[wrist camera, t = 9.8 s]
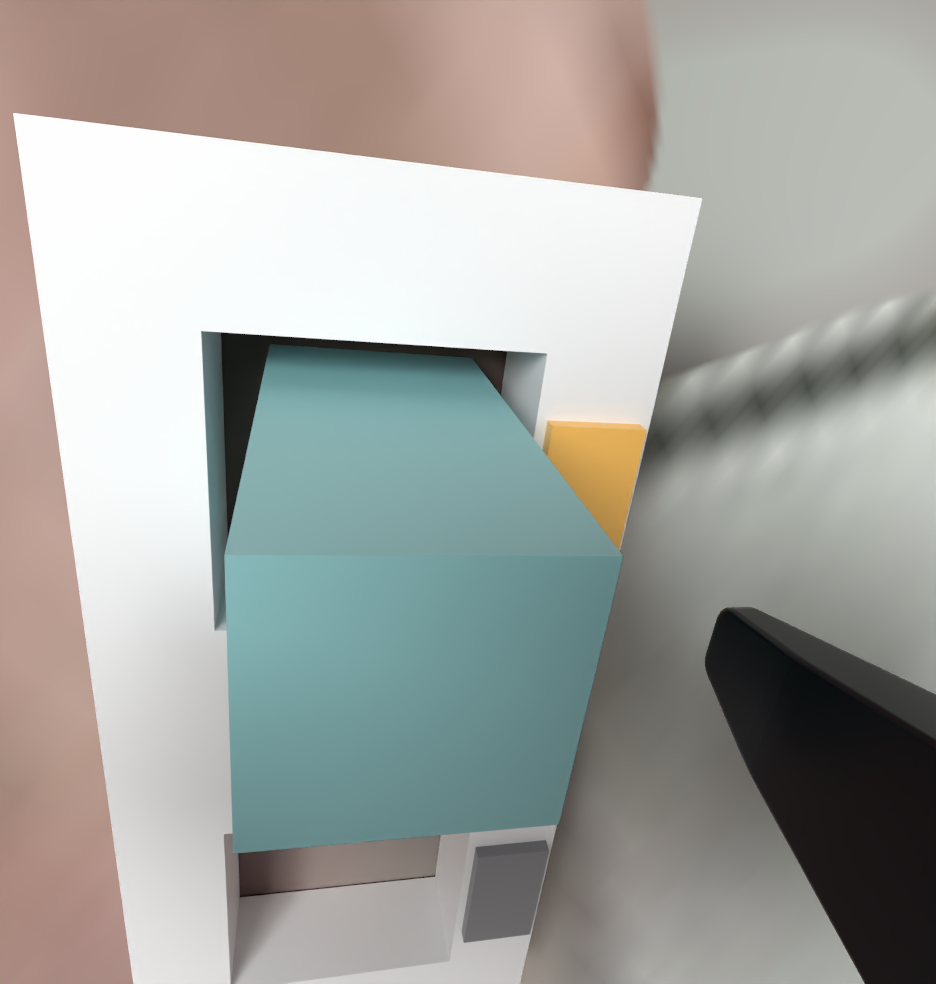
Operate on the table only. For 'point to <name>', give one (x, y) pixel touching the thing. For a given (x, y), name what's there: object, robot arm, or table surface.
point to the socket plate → (202, 477)
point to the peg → (403, 607)
